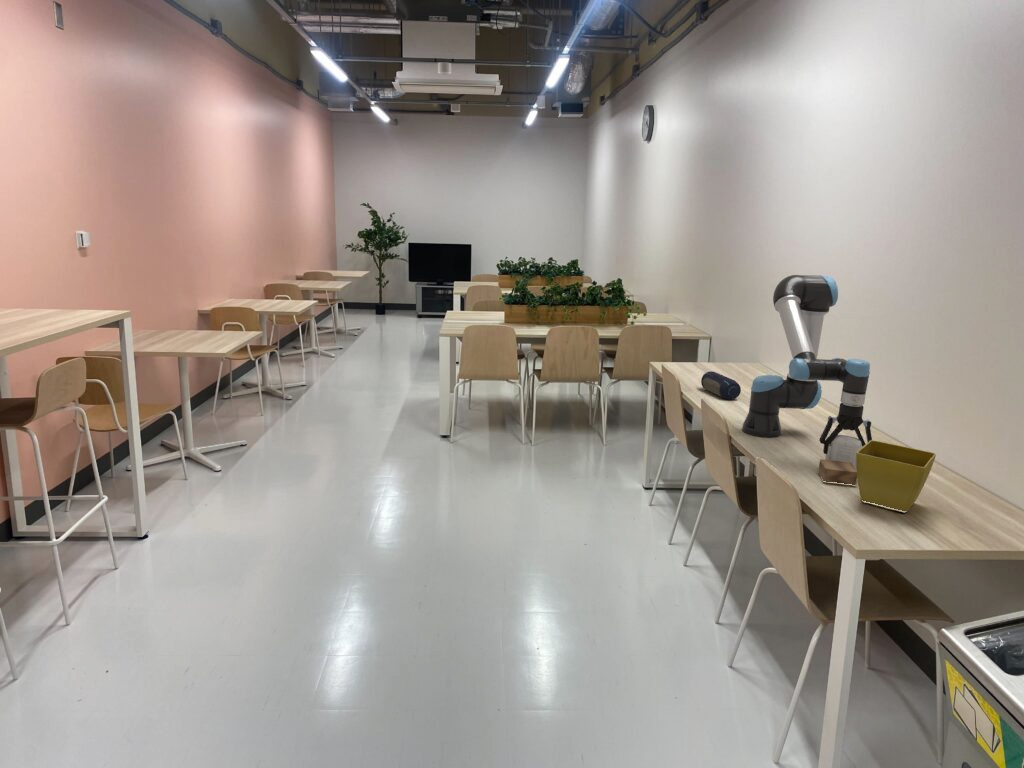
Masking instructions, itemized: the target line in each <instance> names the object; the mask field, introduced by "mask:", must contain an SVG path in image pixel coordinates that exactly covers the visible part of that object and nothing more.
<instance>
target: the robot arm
mask: <svg viewBox="0 0 1024 768" xmlns="http://www.w3.org/2000/svg"><path fill="white" fill-rule="evenodd" d="M772 297H773V298H772V302H773V303H772V304H773V307H774V309H775V311H776V312H778V314H779V317H780V320H781V324H782V326H783V330H784V333H785V336H786V340H787V344H788V347H789V350H790V353H791V356H792V359H791V360H790V362H789V364H788V372H787V374H786V379H784V378H783V377H782V376H781V375H778V374H777V375H773V374H765V375H759V376H756V377H755V378H754V379H753V380H752V384H751V387H750V391H751V392H750V399H749V400H750V401H749V406H748V407H749V409H748V412H747V415H746V417H745V419H744V421H743V423H742V427H741V430H742V431H743V432H744V433H746V434H748V435H752V436H754V437H755V436H756V437H760V438H761V437H762V438H776V437H779V436H781V435H782V426H781V422H780V415H779V414H780V409H793V410H794V409H795V410H796V409H797V410H806V409H814V408H815V407H816V406H817V405H818V404H819V402H820V400H821V398H822V392H823V391H822V389H823V388H822V384H821V382H820V381H830V382H831V381H832V382H841V383H842V388H841V389H842V390H841V397H840V403H839V408H838V409H839V410H838V414H837V416H835V417H834V416H831V415H829V416H828V417H827V423H826V425H825V426H824V429H823V431H822V433H821V434H820V437H819V443H820V444H823V451H822V452H823V454H824V455H825V457H824V460H829V457H830V450H831V446H830V443H831V442H832V441H833V440H834V439H835V437H836V436H837V435H840V432H842V431H843V430H844V431H848V430H849V431H852V432H853V431H855V434H856V438H857V439H859V440H860V441H861V444H862V447H863V446H864V445H866V444H867V443H868V442H869V441H870V440H873V436H872V430H871V428H872V427H871V425H872V422H871V420H870V419H863V414H864V405H865V401H866V394H867V390H868V383H869V378H870V374H871V373H870V370H871V369H870V368H871V364H870V362H869V361H867V360H864V359H859V358H858V359H857V358H850V359H844V358H840V357H835V358H834V357H833V358H831V359H824V358H823V359H822V358H818V354H819V349H820V343H821V342H820V341H821V336H822V330H823V323H824V319H825V317H824V316H825V315H827V314H828V313H829V312H830V307H834V306H835V305H836V304H837V302H838V298H839V289H838V285H837V283H836V280H835V279H834V278H833V277H830V276H827V275H826V276H825V275H817V274H816V275H812V274H811V275H807V274H806V275H805V274H804V275H803V274H802V275H801V274H793V275H788V276H787V277H784V278H783V279H781V281H779V283H778V284H777V285H776V287H775V288H774V291H773V296H772ZM836 422H837V423H838V425H836V427H835V428H834V429H833V431H832V432H831V429H832V427H833V424H835V423H836ZM862 424H863V427H864V430H865V435H866V441H867V442H865V440H864V438H863V434H862V433H861V430H860V429H859V427H860V426H861V425H862ZM830 432H831V433H830ZM829 433H830V434H829ZM828 435H829V436H828Z"/></svg>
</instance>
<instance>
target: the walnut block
mask: <svg viewBox="0 0 1024 768" xmlns="http://www.w3.org/2000/svg"><path fill="white" fill-rule="evenodd" d="M817 472H819V473H818V475H819V474H820V475H819V477H820V476H821V477H822V479H823V481H826V482H837V483H844V484H852V485H856V484H857V471H856V469H855V468H854V466H853V464H852V463H851V462H842V461H833V460H825V458H824V459H822V458H820V459H819V466H818V471H817ZM821 477H820V478H821ZM822 479H821V480H822ZM823 481H822V482H823Z"/></svg>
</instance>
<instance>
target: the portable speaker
mask: <svg viewBox="0 0 1024 768" xmlns="http://www.w3.org/2000/svg"><path fill="white" fill-rule="evenodd" d="M700 383H701V386H702V388H703V389H704V390H705V391H708V392H709V393H712V394H714V395H716V396H719V398H722V399H725V400H728V401H730V400H732V401H733V400H734V399H737V398H738V397H739V396H740V394H741V392H742V389H741V385H740V384H739V382H737V381H736V380H734V379H732V378H730V377H728V376H725V375H723V374H720V373H718V372H716V371H712V370H710V371H707V372H705V373H704V374H703V375H702V377H701V382H700Z"/></svg>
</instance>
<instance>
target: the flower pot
mask: <svg viewBox="0 0 1024 768" xmlns="http://www.w3.org/2000/svg"><path fill="white" fill-rule="evenodd" d="M865 444H866V445H864V446H863V447H862V448H861V449H860V450H858V451H857V452H856V469H857V479H856V481H857V485H858V490H859V491H858V492H859V495H860V501H861V500H863V501H866V502H870V503H875V504H878V505H883V506H886V507H890V508H894V509H898V510H902V511H908V512H909V510H910V509H911V508H912V507H913V505H914V504H915V503H914V502H916V501H917V499H918V498H919V496H920V493H921V492H922V490H923V489H924V486H925V484H926V482H927V480H928V478H929V475H930V473H931V470H932V468H933V465H934V461H935V459H936V457H937V454H936V453H935V452H932V451H927V450H923V449H917V448H912V447H908V446H904V445H898V444H893V443H888V442H884V441H880V440H874V439H872V440H870V441H869V442H868V443H867V442H866V443H865ZM911 506H912V507H911ZM910 507H911V508H910Z"/></svg>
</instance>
